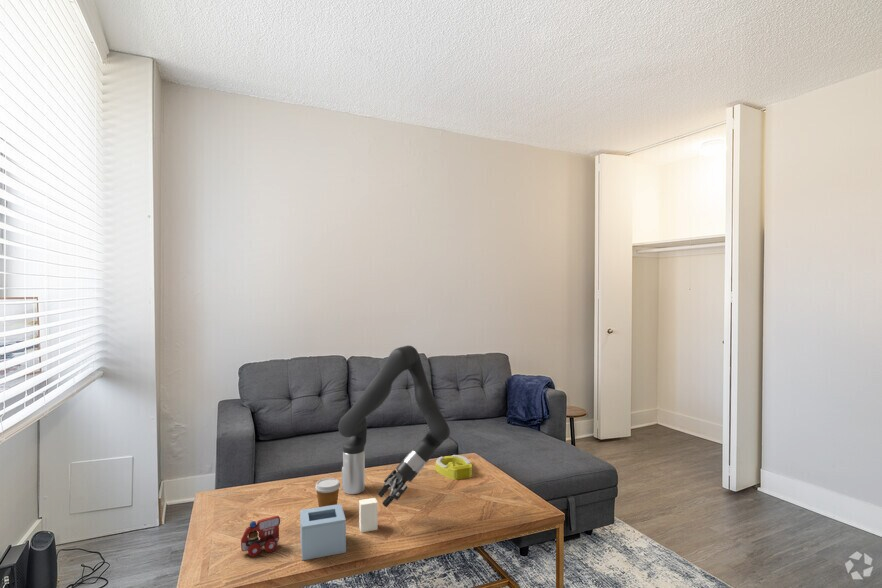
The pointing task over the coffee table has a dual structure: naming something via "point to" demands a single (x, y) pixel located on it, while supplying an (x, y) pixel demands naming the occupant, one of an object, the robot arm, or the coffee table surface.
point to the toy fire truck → (261, 536)
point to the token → (368, 515)
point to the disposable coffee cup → (327, 491)
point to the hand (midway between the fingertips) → (381, 500)
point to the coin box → (322, 531)
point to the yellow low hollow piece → (454, 467)
